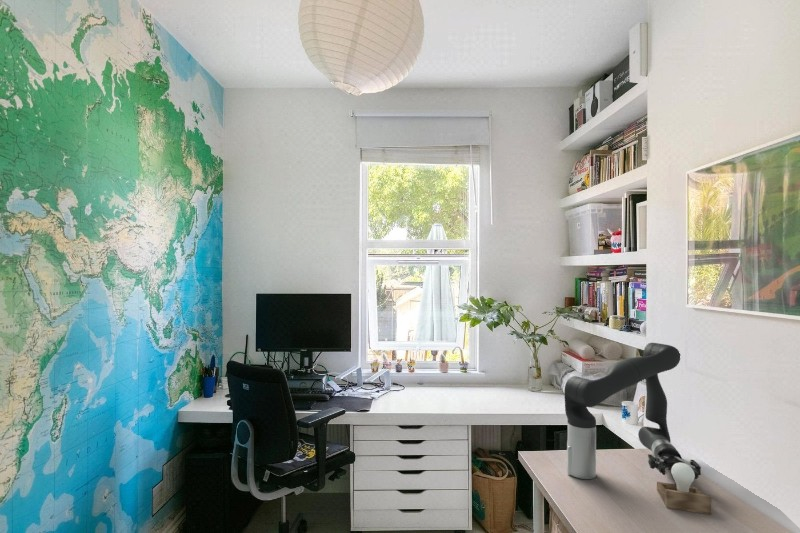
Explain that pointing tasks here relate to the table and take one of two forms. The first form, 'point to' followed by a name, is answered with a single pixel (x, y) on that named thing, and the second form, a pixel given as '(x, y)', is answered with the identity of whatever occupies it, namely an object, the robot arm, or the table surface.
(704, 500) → the cradle
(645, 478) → the table surface
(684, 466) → the lightbulb
